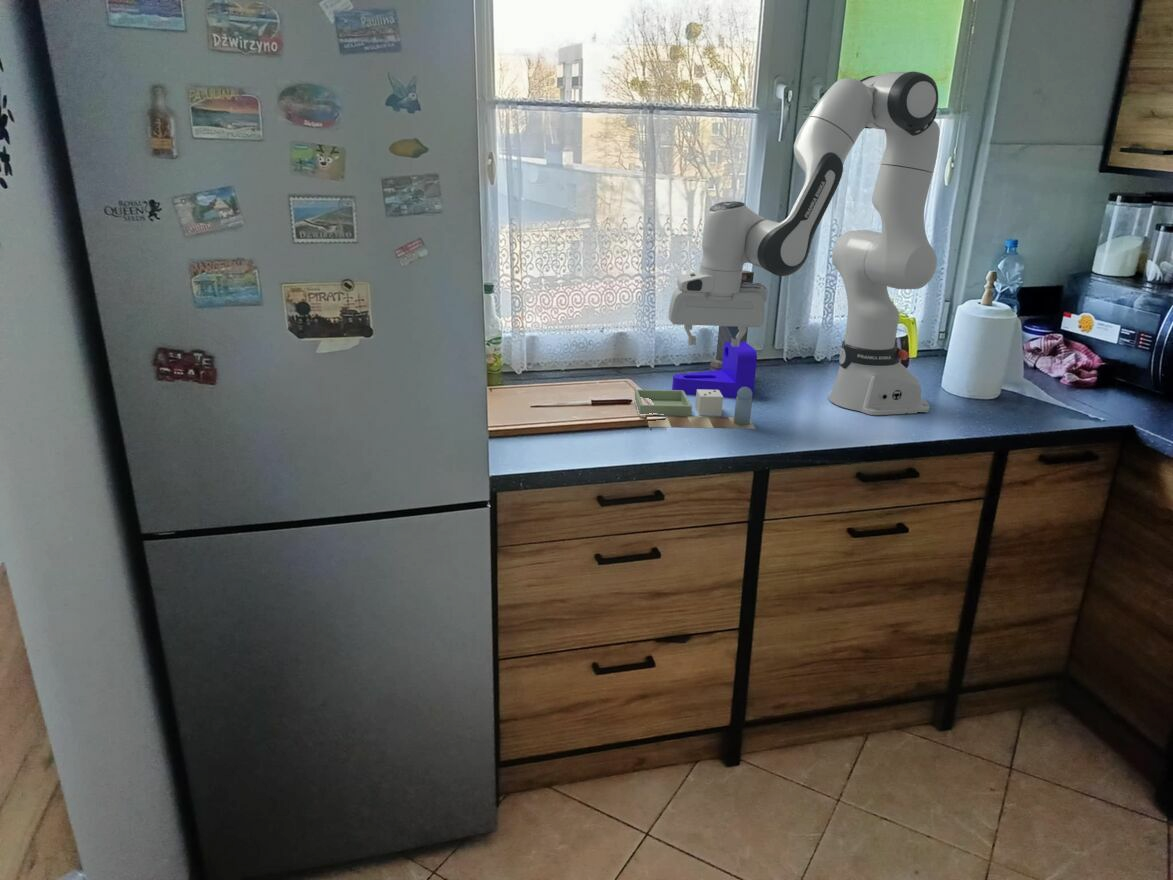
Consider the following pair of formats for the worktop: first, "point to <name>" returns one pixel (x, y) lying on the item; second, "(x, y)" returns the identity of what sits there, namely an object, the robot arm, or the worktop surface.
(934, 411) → the worktop surface
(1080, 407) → the worktop surface
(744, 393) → the pawn
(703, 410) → the die
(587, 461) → the worktop surface
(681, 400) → the dice tray
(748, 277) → the building
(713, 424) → the track
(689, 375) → the bracket
